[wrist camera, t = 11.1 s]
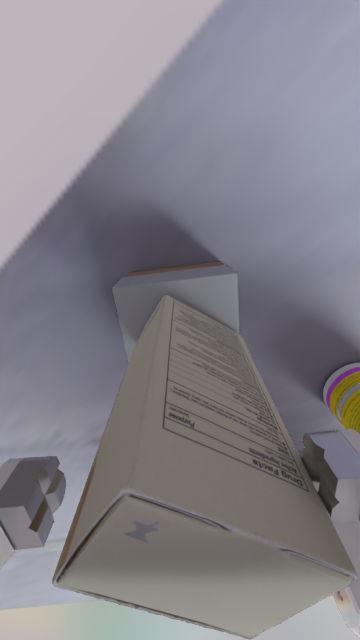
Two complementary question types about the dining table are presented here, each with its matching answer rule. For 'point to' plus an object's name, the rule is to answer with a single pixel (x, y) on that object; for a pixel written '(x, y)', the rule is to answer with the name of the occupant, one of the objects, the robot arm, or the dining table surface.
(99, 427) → the dining table surface
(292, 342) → the dining table surface
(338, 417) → the supplement bottle
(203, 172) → the dining table surface
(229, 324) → the tower top
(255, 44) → the dining table surface
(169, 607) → the skincare box
